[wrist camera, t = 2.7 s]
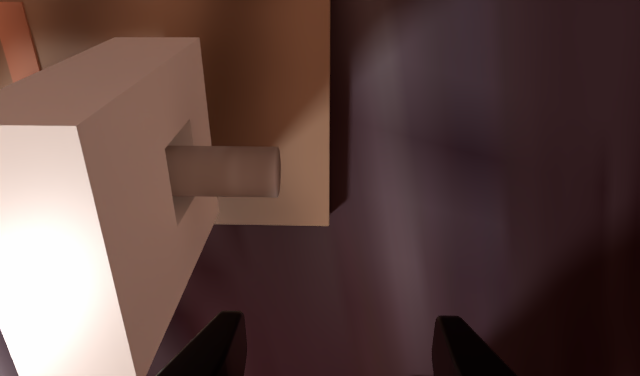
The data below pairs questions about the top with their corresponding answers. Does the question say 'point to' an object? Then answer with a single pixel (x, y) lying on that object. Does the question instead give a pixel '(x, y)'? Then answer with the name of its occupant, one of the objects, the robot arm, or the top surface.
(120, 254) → the tan rectangular block
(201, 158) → the rod stand
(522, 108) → the top surface
